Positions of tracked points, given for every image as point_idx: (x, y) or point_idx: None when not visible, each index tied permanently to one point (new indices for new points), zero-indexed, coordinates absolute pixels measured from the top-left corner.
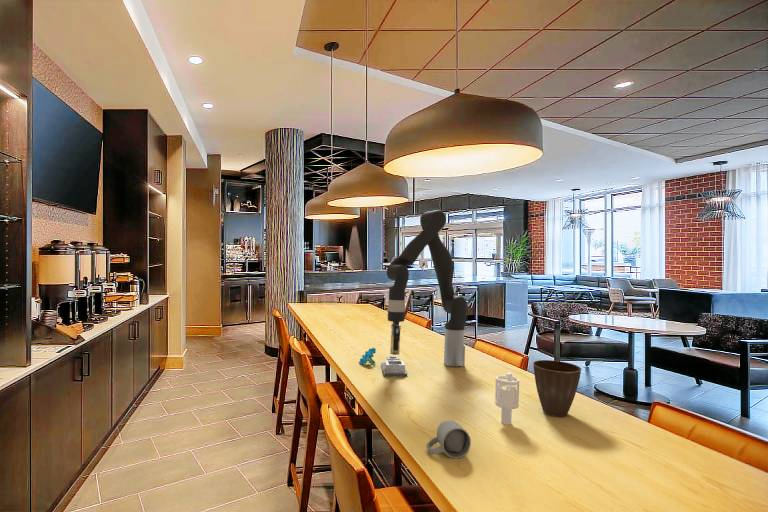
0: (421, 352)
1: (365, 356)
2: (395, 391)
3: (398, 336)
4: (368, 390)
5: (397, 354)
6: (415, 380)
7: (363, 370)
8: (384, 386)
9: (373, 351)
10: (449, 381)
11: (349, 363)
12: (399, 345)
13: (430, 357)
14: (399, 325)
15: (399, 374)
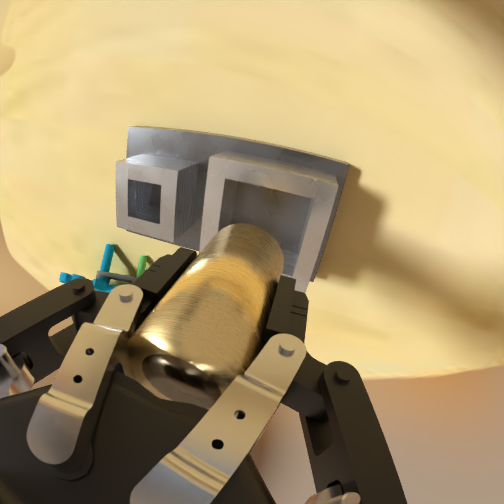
0: (17, 46)
1: None
2: (488, 293)
3: (370, 434)
4: (435, 360)
5: (282, 252)
6: (418, 150)
7: None
8: (433, 312)
9: (96, 289)
10: (450, 11)
11: None
12: (249, 271)
13: (60, 7)
14: (62, 466)
15: (336, 207)
